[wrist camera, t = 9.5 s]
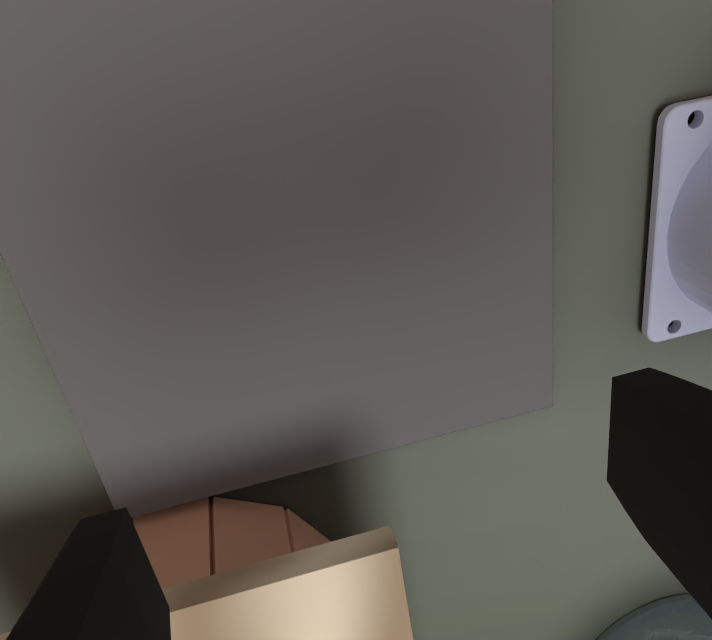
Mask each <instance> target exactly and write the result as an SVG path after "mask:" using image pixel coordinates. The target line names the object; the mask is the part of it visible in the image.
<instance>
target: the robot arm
mask: <svg viewBox="0 0 712 640" xmlns="http://www.w3.org/2000/svg"><path fill="white" fill-rule="evenodd" d="M692 112H694V114H695V116H694V119H693V121H692V122H691V124H690V125H688V122H687V121H688V118H689V116H690V114H691V113H692ZM672 321H673V324H672V325H671V326H670V327H668V325H669V324H670V323H671V322H672ZM711 328H712V96H707V97H702V98H697V99H693V100H688V101H683V102H678V103H674V104H671V105H669V106H667V107H666V108H665V109H664V110H663V111H662V113H661V114H660V116H659V118H658V122H657V132H656V145H655V159H654V172H653V185H652V199H651V212H650V226H649V239H648V252H647V266H646V279H645V293H644V306H643V320H642V333H643V335H644V336H645V337H646V338H647V339H649V340H650V341H653V342H661V341H664V340H668V339H672V338H676V337H680V336H684V335H688V334H692V333H696V332H700V331H703V330H707V329H711ZM607 482H608V483H609V485H610V486H611V488H612V490H613V491H614V493H615V494H616V496H617V498H618V499H619V501H620V502H621V504H622V506H623V507H624V509H625V510H626V512H627V514H628V515H629V517H630V518H631V520H632V521H633V523H634V524H635V526H636V527H637V529H638V530H639V532H640V533H641V535H642V536H643V538H644V539H645V540H646V541H647V543H648V544H649V545H650V546H651V548H652V549H653V550H654V551H655V552H656V554H657V555H658V556H659V557H660V559H661V560H662V561H663V562H664V563H665V565H666V566H667V567H668V568H669V569H670V571H671V572H672V573H673V574H674V575H675V577H676V578H677V579H678V580H679V581H680V583H681V584H682V585H683V586H684V587H685V589H686V590H687V591H688V592H689V593H690V595H691V596H692V597H693V598H694V599H695V600H696V602H697V603H698V604H699V605H700V606H701V608H702V609H703V610H704V611H705V612H706V613H707V615H708V616H709V617H710V618H711V619H712V390H709V389H707V388H704V387H701V386H699V385H696V384H694V383H691V382H689V381H686V380H683V379H681V378H678V377H675V376H673V375H670V374H667V373H664V372H661V371H658V370H655V369H652V368H646V369H642V370H638V371H634V372H631V373H627V374H623V375H619V376H616V377H612V392H611V411H610V430H609V449H608V468H607ZM6 640H171V627H170V608H169V605H168V603H167V600H166V598H165V596H164V593H163V591H162V589H161V586H160V584H159V582H158V580H157V577H156V575H155V573H154V570H153V568H152V566H151V563H150V561H149V559H148V556H147V554H146V552H145V549H144V547H143V545H142V542H141V540H140V538H139V535H138V533H137V531H136V528H135V526H134V524H133V522H132V519H131V517H130V515H129V512H128V510H127V508H126V507H125V508H121V509H118V510H114V511H110V512H106V513H103V514H99V515H95V516H91V517H88V518H84V519H81V520H80V521H79V523H78V524H77V526H76V527H75V529H74V530H73V532H72V533H71V535H70V537H69V538H68V540H67V541H66V543H65V545H64V546H63V548H62V549H61V551H60V553H59V554H58V556H57V558H56V559H55V561H54V563H53V564H52V566H51V567H50V569H49V571H48V572H47V574H46V576H45V577H44V579H43V581H42V582H41V584H40V586H39V587H38V589H37V590H36V592H35V594H34V595H33V597H32V599H31V600H30V602H29V603H28V605H27V607H26V608H25V610H24V612H23V613H22V615H21V616H20V618H19V620H18V621H17V623H16V624H15V626H14V627H13V629H12V630H11V632H10V634H9V635H8V637H7V638H6Z"/></svg>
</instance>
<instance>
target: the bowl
mask: <svg viewBox="0 0 712 640" xmlns="http://www.w3.org/2000/svg"><path fill="white" fill-rule="evenodd" d="M132 522H133V524H134V526H135V528H136V531H137V533H138V535H139V538H140V540H141V542H142V545H143V547H144V549H145V552H146V554H147V556H148V559H149V561H150V563H151V566H152V568H153V570H154V573H155V575H156V577H157V580H158V582H159V584H160V586H161V589H164V588H167V587H171V586H175V585H178V584H182V583H185V582H189V581H193V580H196V579H200V578H203V577H207V576H210V575H214V574H218V573H221V572H225V571H228V570H232V569H235V568H239V567H243V566H246V565H250V564H253V563H257V562H260V561H264V560H268V559H271V558H275V557H278V556H282V555H285V554H289V553H293V552H296V551H300V550H303V549H307V548H311V547H314V546H318V545H321V544H325V543H328V542H331V541H330V540H329V539H327V538H326V537H325V536H323V535H322V534H321V533H319V532H318V531H317V530H316V529H314V528H313V527H312V526H310V525H309V524H308V523H306V522H305V521H304V520H302V519H301V518H300V517H298V516H297V515H296V514H294V513H293V512H292V511H290V510H289V509H288V508H287V509H286V510H285V511H284V507H283V506H276V505H269V504H262V503H255V502H248V501H241V500H234V499H227V498H220V497H213V499H212V502H211V504H210V501H209V498H208V497H206V498H203V499H199V500H195V501H191V502H187V503H184V504H180V505H176V506H172V507H169V508H165V509H161V510H157V511H153V512H150V513H146V514H142V515H138V516H135V517H133V521H132Z"/></svg>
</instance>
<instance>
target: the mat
mask: <svg viewBox="0 0 712 640" xmlns="http://www.w3.org/2000/svg"><path fill="white" fill-rule="evenodd" d="M0 253H1V255H2V257H3V260H4V262H5V264H6V266H7V269H8V271H9V273H10V275H11V278H12V280H13V282H14V284H15V287H16V289H17V291H18V293H19V296H20V298H21V300H22V302H23V305H24V307H25V309H26V311H27V314H28V316H29V318H30V320H31V323H32V325H33V327H34V329H35V332H36V334H37V336H38V338H39V341H40V343H41V345H42V348H43V350H44V352H45V354H46V357H47V359H48V361H49V363H50V366H51V368H52V370H53V372H54V375H55V377H56V379H57V381H58V384H59V386H60V388H61V390H62V393H63V395H64V397H65V399H66V402H67V404H68V406H69V408H70V411H71V413H72V415H73V417H74V420H75V422H76V424H77V426H78V429H79V431H80V433H81V435H82V438H83V440H84V442H85V444H86V447H87V449H88V451H89V453H90V456H91V458H92V460H93V462H94V465H95V467H96V469H97V472H98V474H99V476H100V478H101V481H102V483H103V485H104V487H105V490H106V492H107V494H108V496H109V499H110V501H111V503H112V505H113V508H114V510H118V509H121V508H125V507H126V508H127V510H128V512H129V515H130V517H135V516H138V515H142V514H146V513H150V512H153V511H157V510H161V509H165V508H169V507H172V506H176V505H180V504H184V503H187V502H191V501H195V500H199V499H203V498H206V497H210V496H214V495H218V494H222V493H225V492H229V491H233V490H237V489H240V488H244V487H248V486H252V485H256V484H259V483H263V482H267V481H271V480H274V479H278V478H282V477H286V476H290V475H293V474H297V473H301V472H305V471H308V470H312V469H316V468H320V467H324V466H327V465H331V464H335V463H339V462H342V461H346V460H350V459H354V458H358V457H361V456H365V455H369V454H373V453H376V452H380V451H384V450H388V449H392V448H395V447H399V446H403V445H407V444H411V443H414V442H418V441H422V440H426V439H429V438H433V437H437V436H441V435H445V434H448V433H452V432H456V431H460V430H463V429H467V428H471V427H475V426H479V425H482V424H486V423H490V422H494V421H497V420H501V419H505V418H509V417H513V416H516V415H520V414H524V413H528V412H531V411H535V410H539V409H543V408H547V407H550V406H553V0H0Z"/></svg>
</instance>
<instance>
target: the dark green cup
mask: <svg viewBox="0 0 712 640" xmlns="http://www.w3.org/2000/svg"><path fill="white" fill-rule="evenodd" d="M597 640H712V619H711V618H710V617H709V616H708V615H707V613H706V612H705V611H704V610H703V609H702V608H701V606H700V605H699V604H698V603H697V602H696V600H695V599H694V598H693V597H692V596H691V595H690V594H682V595H676V596H671V597H667V598H663V599H660V600H657V601H654V602H652V603H649V604H647V605H644V606H642V607H640V608H638V609H636V610H634V611H632V612H631V613H629V614H627V615H626V616H624V617H623V618H621V619H620V620H618V621H617V622H615V623H614V624H613V625H612V626H610V627H609V628H608V629H607V630H606V631H605V632H603V633H602V634H601V635H600V636H599V637H598V639H597Z"/></svg>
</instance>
